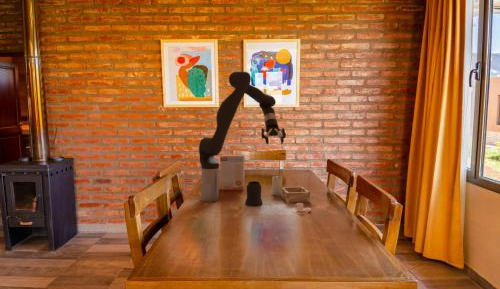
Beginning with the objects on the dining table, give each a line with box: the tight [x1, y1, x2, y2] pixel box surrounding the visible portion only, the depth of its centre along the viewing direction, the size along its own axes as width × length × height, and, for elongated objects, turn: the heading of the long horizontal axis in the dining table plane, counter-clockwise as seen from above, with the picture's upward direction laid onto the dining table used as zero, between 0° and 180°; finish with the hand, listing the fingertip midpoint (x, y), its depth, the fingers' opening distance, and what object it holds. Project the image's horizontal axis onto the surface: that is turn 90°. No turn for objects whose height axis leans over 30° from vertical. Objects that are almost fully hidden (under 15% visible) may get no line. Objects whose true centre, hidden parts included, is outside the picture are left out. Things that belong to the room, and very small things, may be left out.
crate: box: [280, 186, 311, 204], centre depth 172 cm, size 13×12×6 cm
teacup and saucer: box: [291, 203, 312, 215], centre depth 153 cm, size 9×8×4 cm
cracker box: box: [219, 154, 246, 192], centre depth 192 cm, size 14×6×21 cm, turn 84°
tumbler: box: [271, 175, 283, 196], centre depth 183 cm, size 6×6×10 cm
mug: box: [244, 180, 263, 208], centre depth 165 cm, size 12×9×11 cm
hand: (275, 143), depth 185 cm, fingers open, 8 cm apart
